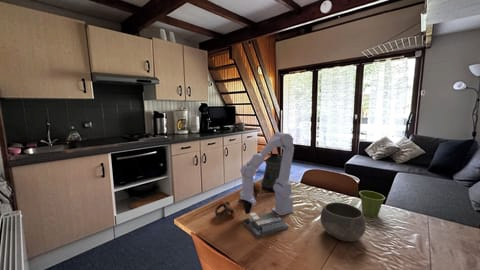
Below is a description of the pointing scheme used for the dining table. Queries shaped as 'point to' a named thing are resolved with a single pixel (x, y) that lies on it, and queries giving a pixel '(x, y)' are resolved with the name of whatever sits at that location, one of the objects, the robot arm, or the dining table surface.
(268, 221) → the strap
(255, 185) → the stuffed squirrel
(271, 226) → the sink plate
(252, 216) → the block
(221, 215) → the pottery mug
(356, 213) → the bowl
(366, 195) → the plant pot
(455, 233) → the dining table surface
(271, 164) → the beer stein
